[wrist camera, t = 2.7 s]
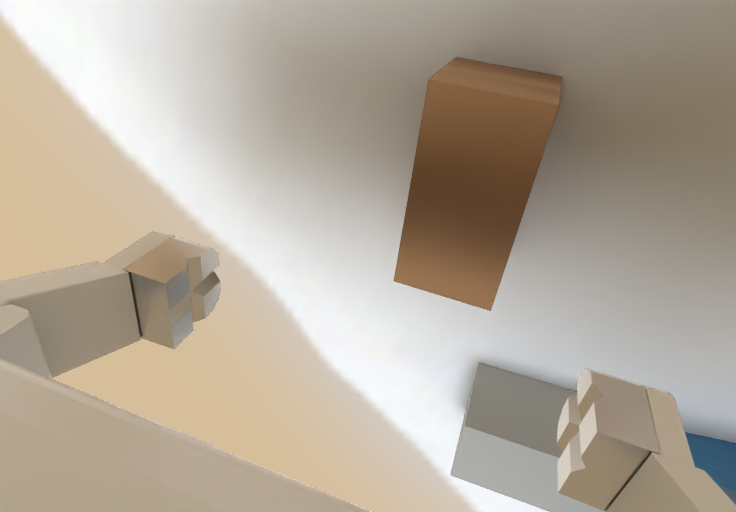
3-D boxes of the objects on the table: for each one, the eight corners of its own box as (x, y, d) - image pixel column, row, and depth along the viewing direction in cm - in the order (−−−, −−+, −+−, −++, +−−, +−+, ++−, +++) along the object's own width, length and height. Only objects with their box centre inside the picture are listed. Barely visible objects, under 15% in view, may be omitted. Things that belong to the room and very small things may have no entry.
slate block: (637, 407, 21) (649, 488, 18) (609, 455, 23) (616, 536, 20) (479, 360, 23) (464, 425, 19) (466, 408, 24) (450, 475, 21)
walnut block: (456, 56, 16) (428, 79, 13) (561, 75, 15) (559, 105, 12) (421, 230, 20) (393, 281, 17) (504, 253, 19) (490, 310, 16)
